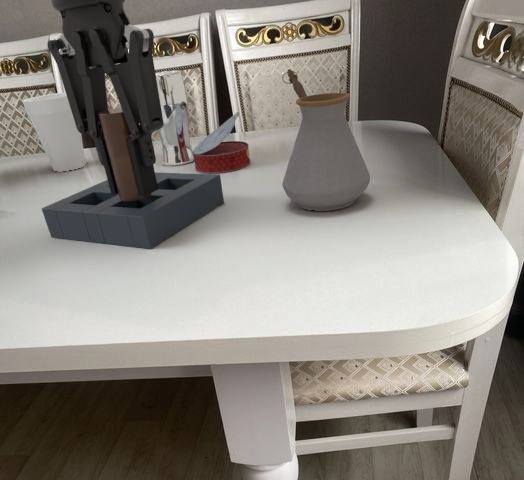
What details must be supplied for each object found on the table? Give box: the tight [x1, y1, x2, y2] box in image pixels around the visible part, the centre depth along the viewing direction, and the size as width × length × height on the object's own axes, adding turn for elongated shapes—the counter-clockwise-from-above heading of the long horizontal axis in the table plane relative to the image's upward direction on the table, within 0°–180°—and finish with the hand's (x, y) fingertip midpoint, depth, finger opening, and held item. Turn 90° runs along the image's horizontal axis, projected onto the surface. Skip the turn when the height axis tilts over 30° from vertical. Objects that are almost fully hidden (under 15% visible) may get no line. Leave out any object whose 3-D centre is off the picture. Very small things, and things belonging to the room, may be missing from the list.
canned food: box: [192, 111, 251, 174], centre depth 92 cm, size 11×10×10 cm
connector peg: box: [98, 107, 152, 201], centre depth 63 cm, size 4×4×10 cm
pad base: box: [41, 171, 225, 250], centre depth 72 cm, size 17×17×4 cm
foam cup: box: [22, 91, 86, 173], centre depth 102 cm, size 10×9×13 cm
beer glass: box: [155, 69, 194, 167], centre depth 96 cm, size 7×7×15 cm
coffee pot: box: [281, 68, 371, 212], centre depth 71 cm, size 21×12×15 cm, turn 12°
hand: (134, 191), depth 66 cm, fingers closed on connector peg, 4 cm apart
